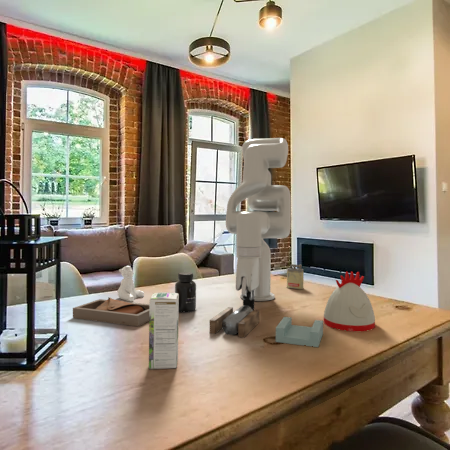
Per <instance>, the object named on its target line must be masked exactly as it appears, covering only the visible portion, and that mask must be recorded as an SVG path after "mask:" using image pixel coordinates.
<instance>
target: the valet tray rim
mask: <svg viewBox="0 0 450 450" xmlns="http://www.w3.org/2000/svg"><path fill="white" fill-rule="evenodd" d="M106 300H107V299H102V298H99V299H96V300H93V301H90V302H87V303H84V304H81V305H77V306H75V307H72V319H77V320H85V321H95V322H102V323H109V324H116V325H124V326H130V327H136V328H137V327H140V326H141V325H145V324H146V323H149V303H140V302H139V303H138V302H133V301H131V302H129V301H127V302H128V303H131V304H138V305H141V306H143V307H144V308H145V309H146V310H145V311H143V312H141V313H139V314H130V313H121V312H113V311H105V310H96V308H97V307H98V306H100V305H101V304H102V303H104V302H105V301H106ZM123 322H125V323H123Z"/></svg>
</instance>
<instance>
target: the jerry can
mask: <svg viewBox="0 0 450 450" xmlns="http://www.w3.org/2000/svg"><path fill="white" fill-rule="evenodd" d="M289 266H290V267H288V268H286V288H287V289H295V290H304V289H305V288H304V273H305V271H304V269H303V268H302V267H303V266H302V264H295V263H294V264H293V263H291V264H289Z"/></svg>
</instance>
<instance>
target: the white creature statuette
mask: <svg viewBox="0 0 450 450" xmlns="http://www.w3.org/2000/svg"><path fill="white" fill-rule="evenodd" d="M118 271H119V272H118V273H120V274H121V276H122V279H121V281H120V286H119V288H118V289H117V296H118V298H119V299H120V300H122V301H125V302H134V301H135V299H137V298H144V297H145V291H142V290H140V289H136V287H135V282H134V279H133V276H134V273H135V272H134V271H133V268H132V267H131V265H126V266H124V267H122V268H120V269H118Z"/></svg>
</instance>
